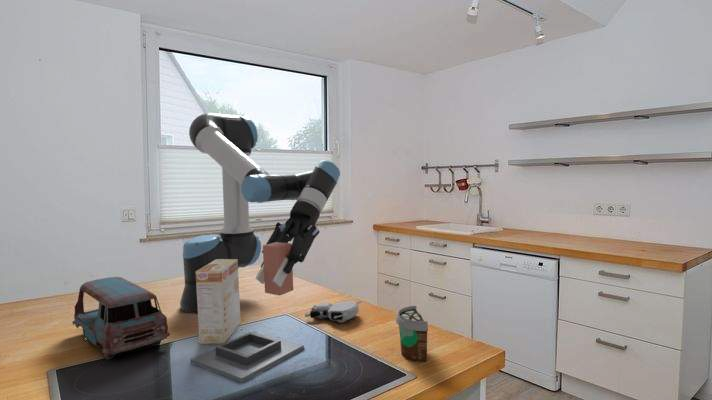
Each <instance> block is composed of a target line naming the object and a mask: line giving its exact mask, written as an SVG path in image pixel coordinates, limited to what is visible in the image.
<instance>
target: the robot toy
mask: <svg viewBox="0 0 712 400" xmlns="http://www.w3.org/2000/svg"><path fill="white" fill-rule="evenodd" d="M359 304H362V301H358V302H355V301H347V300H345V301H344V300H343V301H339V302H337V303H334V304H332V303H330V302H320V303H317V304H314V306H312V307H311V309H310V312H305V313H304V317H307V318H308V317H310V319H312V318H314V319H315V318H318V319H321V320H323V319H326V318H329V320H331V321H336V322H337V323H339V324H340V323H341V324H342V323H345V322H347V321H348V320H351V319H353V318H354V317H356V316H357V315H358V313H359Z"/></svg>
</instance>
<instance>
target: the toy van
mask: <svg viewBox="0 0 712 400" xmlns="http://www.w3.org/2000/svg"><path fill="white" fill-rule="evenodd" d="M85 294H87V295H88V296H90V297H91V298H93V299H94V300H96V301H97V302H98V308H96V309H91V310H88V311H85V307H84V297H85V296H84V295H85ZM152 300H153V301H154V306H153V304H152ZM73 317H74V318H73V319H74V320H73V321H72V325H73V326H75V327H76V328H77V329H79V327H81V328H82V335H83V337H85V338H86V339H88V340H87V341H89V342H90V343H92V344H93V345H94V346H95V347H96V348H99V347H101V348H102V354H103V357H104V359H106V360H107V359H108V360H111V358H112V359H114V357H115V355H116V354H119V353H120V354H121V353H123V352H128V351H132V350H135V349H138V348H141V347H145V346H148V345H151V344H153V345H152V346H154V345H155V346H158V344H159V345H161V343H162V341H163V340H166V339H167V338H168V337H170V336H171V331H170V330H169V325H168V318H167V316H166V315H165V314H164V313H163V312H162V309H161V306H160V304H159V301H158V297H157V295H156V294H154V293H153V292H151V291H149V290H147V289H146V288H143V287H141V286H139V285H138V284H136V283H134V282H131V281H130V280H127V279H126V278H124V277H121V276H114V277H113V276H112V277H105V278H99V279H93V280H90V281H86V282H84V283H83V284H81V286H80V287H79V292H78V296H77V301H76V304H75V305H74V315H73ZM85 338H84V339H85Z"/></svg>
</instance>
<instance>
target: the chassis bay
mask: <svg viewBox="0 0 712 400" xmlns="http://www.w3.org/2000/svg"><path fill="white" fill-rule="evenodd" d="M304 349H305V345H304V344H302V343H299V342H294V341H291V340H287V339H284V338H281V337H276V336H273V335H270V334H266V333H262V332H259V331H255V330H254V331H249V332H247V333H244V334H242V335H239V336H238V337H235V338H233V339H230V340H228V341H226V342H225V343H223V344H218V345H216V346H214V348H212V349H210V350H207V351H205V352H202V353H200V354H198V355H196V356H194V357H191V358H190V360H189V362H190V364H193V365H195V366H197V367H201V368H202V369H205V370H208V371H211V372H213V373H216V374H217V375H220V376H224V377H227V378H229V379H232V380H233V381H236V382H239V383H242V384H243V383H244V382H246V381H248V380H249V379H252V378H253V377H256V376H257V375H259V374H261V373H263V372H265V371H266V370H268V369H270V368H272V367H273V366H275V365H277V364H279V363H281V362H283V361H285V360H287V359H288V358H290V357H292V356H293V355H296V354H297V353H299V352H301V351H303V350H304Z"/></svg>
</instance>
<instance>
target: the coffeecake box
mask: <svg viewBox="0 0 712 400" xmlns="http://www.w3.org/2000/svg"><path fill="white" fill-rule="evenodd" d="M195 273H196V289H197V306H198V313H197V322H198V323H197V324H198V339H199V341H198V344H200V345H208V344H209V345H210V344H213V345H215V344H216V345H217V344H218V345H221V344H223V343H226V342H227V340H228V339H229V338H230V337H231V336H232V335H233V333H234V332H235V331H236V330H237V328H239V326H240V325H241V323H242V321H241V304H240V302H241V301H240V300H241V299H240V282H239V268H238V259H216V260H214V261H212V262H211V263H209V264H208V265H206V266H204V267H203V268H201V269H199V270H198V271H196V272H195Z"/></svg>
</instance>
